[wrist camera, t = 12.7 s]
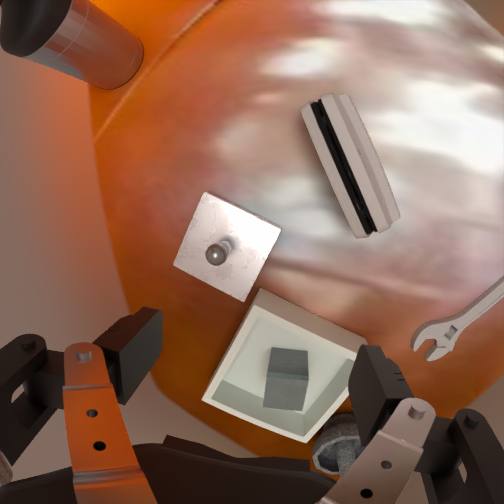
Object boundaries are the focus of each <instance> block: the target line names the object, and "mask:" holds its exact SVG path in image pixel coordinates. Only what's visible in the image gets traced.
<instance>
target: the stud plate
mask: <svg viewBox="0 0 504 504" xmlns="http://www.w3.org/2000/svg"><path fill="white" fill-rule="evenodd" d="M281 229H282V227H280V226H278V225H276V224H274V223H272V222H270V221H268V220H266V219H264V218H262V217H260V216H258V215H256V214H254V213H252V212H250V211H248V210H246V209H244V208H242V207H240V206H238V205H236V204H234V203H232V202H230V201H228V200H226V199H224V198H222V197H219V196H217V195H215V194H213V193H211V192H209V191H207V192H204V193H203V195H202V198H201V200H200V202H199V204H198V207H197V209H196V211H195V214H194V216H193V218H192V220H191V223H190V225H189V227H188V230H187V232H186V234H185V237H184V239H183V242H182V244H181V246H180V249H179V251H178V254H177V256H176V259H175V261H174V264H173V265H174V266H176V267H177V268H179V269H181V270H183V271H185V272H187V273H189V274H190V275H192V276H194V277H196V278H198V279H200V280H202V281H204V282H206V283H207V284H209V285H211V286H213V287H215V288H217V289H219V290H221V291H223V292H225V293H227V294H229V295H231V296H233V297H234V298H236V299H238V300H240V301H242V302H244V301H245V299H246V297H247V295H248V293H249V292H250V290H251V288H252V286H253V284H254V282H255V280H256V278H257V276H258V274H259V272H260V270H261V268H262V266H263V264H264V262H265V261H266V259H267V257H268V255H269V253H270V251H271V249H272V247H273V245H274V243H275V241H276V239H277V237H278V235H279V233H280V231H281Z"/></svg>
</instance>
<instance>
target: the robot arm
mask: <svg viewBox="0 0 504 504" xmlns="http://www.w3.org/2000/svg"><path fill="white" fill-rule="evenodd" d="M0 5H1V8H2V18H1V27H0V45H1V47H2V49H3V50H4V51H6V52H7V53H9V54H12V55H15V56H18V57H21V58H24V59H27V60H30V61H33V62H36V63H39V64H42V65H45V66H47V67H50V68H53V69H55V70H58V71H60V72H63V73H66V74H68V75H71V76H73V77H76V78H78V79H81V80H83V81H85V82H88V83H90V84H93V85H95V86H97V87H100V88H103V89H114V88H117V87H119V86H121V85H123V84H124V83H126V82H127V81H128V80H129V79H131V78H132V76H133V75H134V74H135V73H136V71H137V70H138V68H139V67H140V64H141V62H142V58H143V46H142V43H141V42H140V40H139V39H138V38H136V37H135V36H134V35H133V34H131V33H130V32H129V31H128V30H127V29H125V28H124V27H123V26H122V25H120V24H119V23H118V22H116V21H115V20H114V19H113V18H111V17H110V16H109V15H107V14H106V13H105V12H103V11H102V10H101V9H99V8H98V7H97V6H95V5H94V4H93V3H91V2H90V1H89V0H0ZM162 324H163V314H162V311H161V310H157V309H153V308H149V307H142V308H141V309H140V310H139V311H138V312H137V313H136V314H135V315H128V316H126V317H123V318H120V319H119V320H118V321H117V322H115V323H114V325H113V326H111V327H110V328H109V329H108V330H106V331H105V332H104V333H103V334H102V335H100V336H99V337H98V338H97V339H96V340H95V341H94V342H93V343H87V342H81V343H75V344H72V345H70V346H69V347H67V348H66V350H65V351H64V352H58V351H52V350H47V347H46V342H45V340H44V338H43V337H41V336H39V335H36V334H25V335H21V336H18V337H16V338H15V339H14V340H12V341H11V342H9V343H8V344H7V345H5V346H4V347H3V348H1V349H0V504H395V503H396V501H397V500H398V498H399V497H400V495H401V493H402V491H403V490H404V488H405V486H406V484H407V482H408V480H409V479H410V477H411V475H412V473H413V471H416V472H421V476H422V479H423V483H424V486H425V490H426V494H427V498H428V502H429V504H504V450H503V448H502V446H501V444H500V443H499V441H498V439H497V437H496V436H495V434H494V432H493V430H492V429H491V427H490V425H489V424H488V422H487V420H486V419H485V417H484V416H483V415H482V414H480V413H479V412H477V411H475V410H472V409H461V410H459V411H458V412H457V413H456V415H455V416H454V418H453V419H448V418H443V417H437V416H436V413H435V410H434V409H433V407H432V406H431V405H430V404H428V403H427V402H425V401H423V400H421V399H417V398H415V397H414V395H413V393H412V391H411V390H410V388H409V386H408V384H407V382H406V381H405V378H404V376H403V375H402V373H401V371H400V369H399V367H398V365H397V364H395V363H394V362H393V361H392V360H391V359H390V358H386V357H385V355H384V353H383V351H382V349H381V347H380V346H375V345H365V344H362V345H361V346H360V348H359V350H358V353H357V356H356V359H355V362H354V365H353V368H352V371H351V373H350V376H349V380H348V392H349V396H350V400H351V404H352V408H353V412H354V416H355V420H356V424H357V429H358V433H359V437H360V442H361V446H362V447H366V448H365V449H364V451H363V452H362V453H361V454H360V456H359V457H358V458H357V459H356V461H355V462H354V463H353V464H352V466H351V467H350V468H349V469H348V470H347V471H346V473H345V474H344V475H343V476H342V477H341V478H340V480H339V481H338V482H337V481H335V480H334V479H332V478H330V477H328V476H326V475H324V474H322V473H319V472H316V471H313V470H310V460H304V459H293V458H283V457H258V458H235V457H232V456H229V455H227V454H224V453H222V452H219V451H217V450H215V449H212V448H210V447H207V446H205V445H203V444H200V443H196V442H192V441H188V440H184V439H180V438H177V437H173V436H169V435H166V438H165V440H164V442H163V444H159V443H147V444H138V445H131V442H130V440H129V436H128V433H127V431H126V428H125V424H124V421H123V418H122V415H121V412H120V408H119V405H118V403H119V404H122V405H125V404H126V403H127V401H128V400H129V399H130V397H131V396H132V394H133V393H134V392H135V390H136V389H137V387H138V386H139V384H140V383H141V382H142V380H143V379H144V377H145V376H146V375H147V373H148V372H149V370H150V369H151V368H152V366H153V365H154V363H155V362H156V361H157V359H158V358H159V356H160V353H161V349H162ZM21 384H22V385H23V388H24V392H23V393H22V394H21V395H20V396H19V397H18V398H17V399H16V400H15V401H14V402H13V403H11V398H12V395H13V393H14V391H15V390H16V389H17V388H18V387H19V386H20V385H21ZM58 408H59V409H64V413H65V423H66V431H67V439H68V446H69V452H70V458H71V464H72V466H71V467H67V468H64V469H60V470H57V471H54V472H50V473H46V474H42V475H38V476H34V477H30V478H27V479H22V480H17V481H13V482H11V480H12V477H13V470H12V466H13V465H14V463H15V462H16V460H17V459H18V458H19V457H20V455H21V454H22V453H23V451H24V450H25V449H26V447H27V446H28V445H29V444H30V443H31V441H32V440H33V438H34V437H35V436H36V435H37V434H38V432H39V431H40V430H41V429H42V427H43V426H44V425H45V424H46V422H47V421H48V420H49V419H50V417H51V416H52V415H53V414H54V413H55V411H56V410H57V409H58ZM462 462H463V464H464V466H465V469H466V471H467V478H466V481H465V483H464V482H463V479H462V477H461V474H460V471H459V469H458V467H459V466H460V465H461V463H462Z"/></svg>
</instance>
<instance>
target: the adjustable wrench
mask: <svg viewBox="0 0 504 504" xmlns="http://www.w3.org/2000/svg"><path fill="white" fill-rule="evenodd" d="M503 297H504V276H503V277H501V278H500V279H499V280H498V281H497V282H496V283H495V284H494V285H492V286H491V287H490V288H489V289H488V290H487V291H485V292H484V293H483V294H482V295H481V296H479V297H478V298H477V299H476V300H475V301H473V302H472V303H471V304H470V305H468V306H467V307H466V308H465V309H463V310H462V311H461V312H459V313H458V314H456V315H453V316H451V317H448V318H444V319H440V320H434V321H429V322H426V323H424V324H423V325H421V326H420V327H419V328H418V329H417V330H416V332H415V333H414V335H413V337H412V340H411V347H412V348H413V350H414V351H416V350H417V349H418V348H419V346H420V345H421V344H422V343H423V342H424V340H425V339H435V340H436V344H433V345H432V347H431V348H430V349H429V350H428V351H427V353H426V354H425V355H424V357H425V358H426V359H427V360H428V361H432V360H436V359H438V358H440V357H442V356H443V355H445V354H446V353H448V352H449V351H451V352H452V350H453V347H454V345H455V341H456V340H457V338H458V336H459V334H460V333H461V332H462V331H463V329H464V328H466V327H467V326H468V325H469V324H470V323H472V322H473V321H474V320H476V319H477V318H478V317H479V316H481V315H482V314H483V313H484V312H486V311H487V310H488V309H489V308H491V307H492V306H493V305H494V304H495V303H497V302H498V301H499V300H500V299H501V298H503ZM451 325H453V326H454V328H453V327H452V326H451Z"/></svg>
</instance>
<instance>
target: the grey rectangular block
mask: <svg viewBox="0 0 504 504" xmlns="http://www.w3.org/2000/svg"><path fill="white" fill-rule="evenodd" d="M308 382H309V372H308V351H305V350H294V349H285V348H275V347H272V348H271V354H270V360H269V365H268V371H267V376H266V385H265V393H264V401H263V407H265V408H273V409H283V410H293V411H302V410H303V406H304V401H305V396H306V392H307V387H308Z"/></svg>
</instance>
